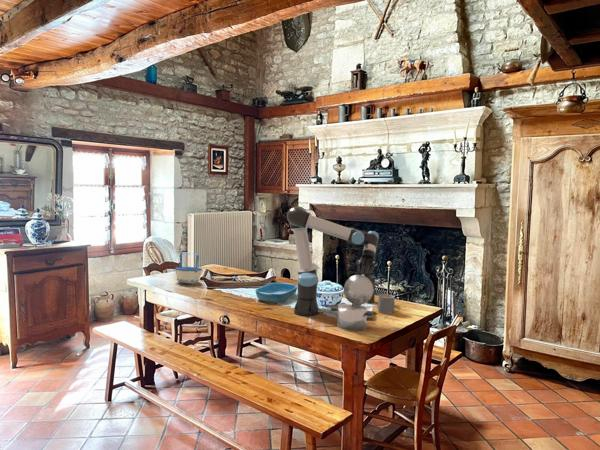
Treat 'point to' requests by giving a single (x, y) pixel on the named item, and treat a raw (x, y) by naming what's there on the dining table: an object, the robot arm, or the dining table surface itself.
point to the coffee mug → (386, 304)
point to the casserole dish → (276, 292)
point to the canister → (372, 279)
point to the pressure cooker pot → (352, 317)
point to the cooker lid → (358, 290)
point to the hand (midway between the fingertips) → (361, 285)
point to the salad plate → (363, 306)
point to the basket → (188, 272)
